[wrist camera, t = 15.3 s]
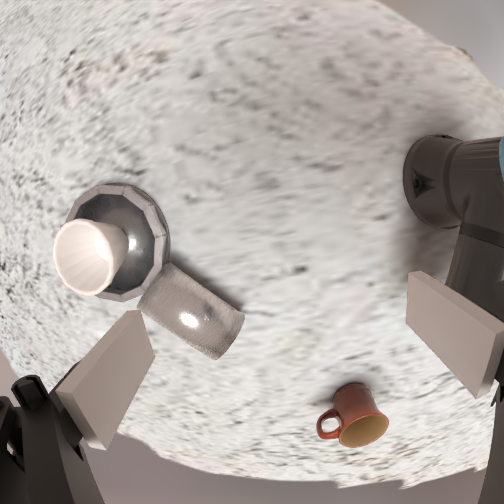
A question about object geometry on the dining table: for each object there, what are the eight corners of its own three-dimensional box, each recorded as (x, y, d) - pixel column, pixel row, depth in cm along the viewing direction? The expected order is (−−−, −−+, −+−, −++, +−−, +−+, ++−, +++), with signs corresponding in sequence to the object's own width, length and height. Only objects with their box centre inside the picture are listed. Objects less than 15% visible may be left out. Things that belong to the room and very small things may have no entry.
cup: (137, 208, 39) (108, 216, 30) (144, 275, 42) (119, 297, 33) (83, 213, 40) (47, 222, 31) (90, 275, 42) (59, 294, 33)
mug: (372, 372, 47) (392, 408, 37) (369, 405, 49) (385, 439, 39) (309, 386, 47) (319, 426, 37) (311, 417, 49) (319, 456, 39)
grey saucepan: (58, 252, 42) (30, 264, 34) (103, 161, 39) (75, 158, 31) (200, 360, 46) (191, 389, 38) (265, 281, 43) (267, 302, 35)
